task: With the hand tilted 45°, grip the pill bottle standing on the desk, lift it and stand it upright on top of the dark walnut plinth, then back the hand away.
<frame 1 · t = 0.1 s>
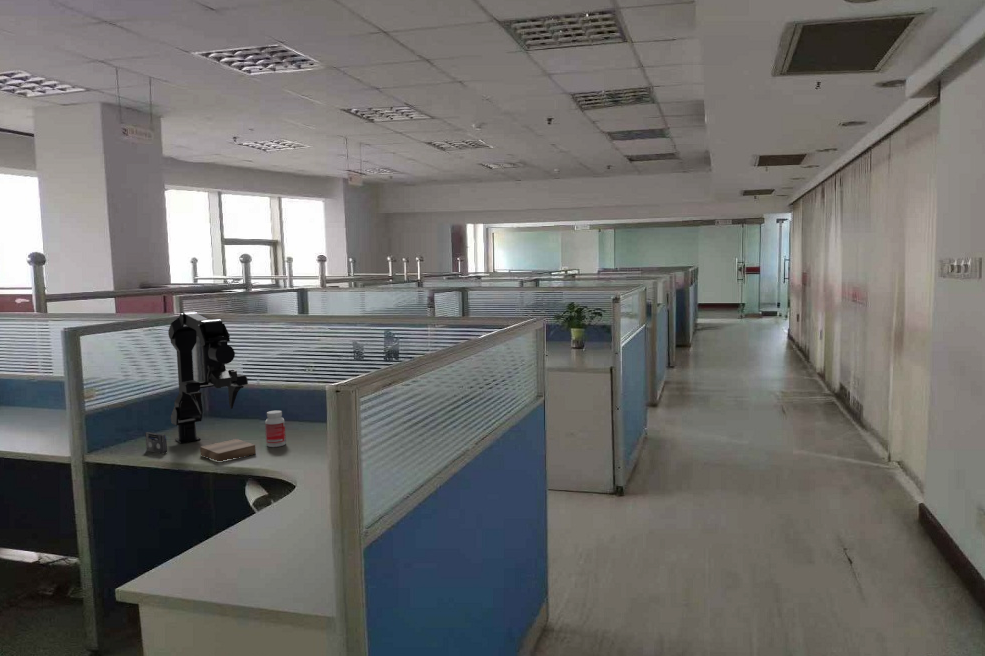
hand: (216, 411, 223), 15 cm above the table, tool pointing down, fingers open, 9 cm apart
walnut plinth: (228, 455, 227), on the table
mini dv tape: (156, 452, 233), on the table
pill bottle: (276, 445, 238), on the table
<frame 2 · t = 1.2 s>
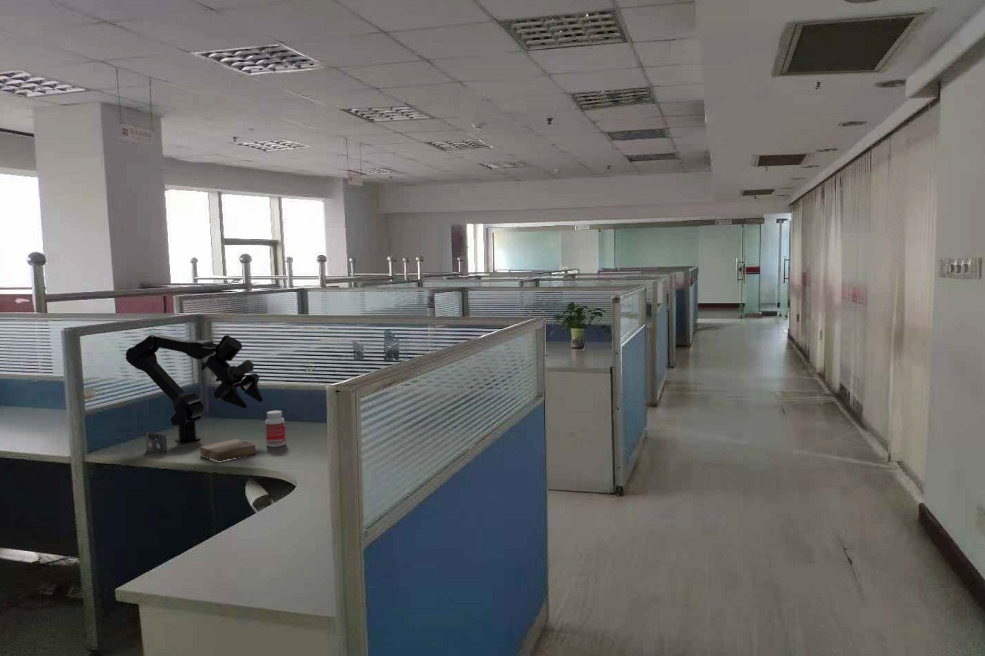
hand: (254, 404, 238), 13 cm above the table, tool tilted 45°, fingers open, 9 cm apart
nothing on the table moved.
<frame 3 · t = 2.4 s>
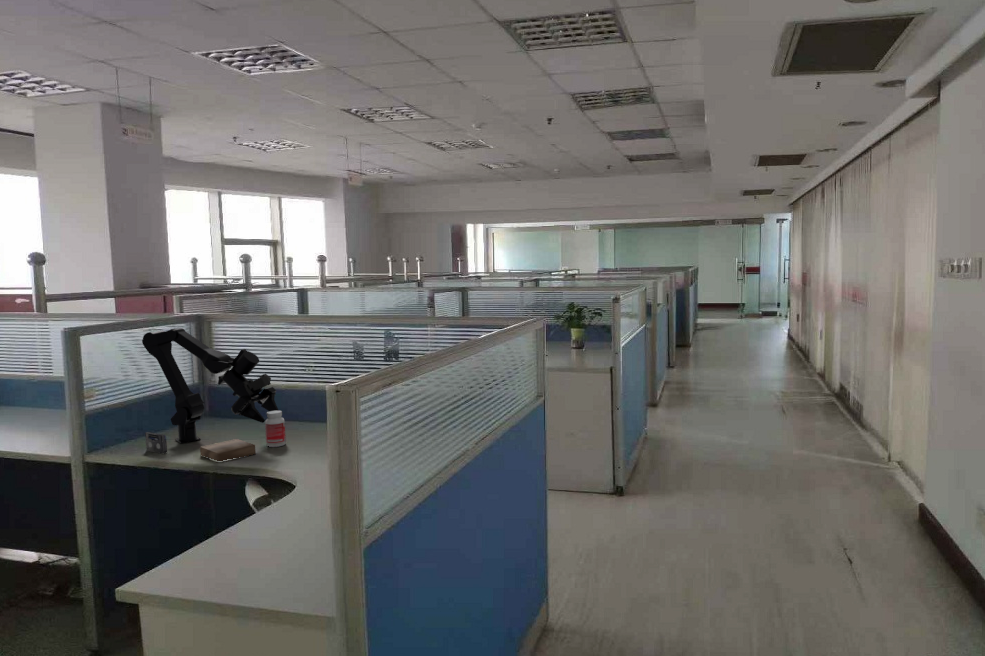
hand: (271, 418, 237), 9 cm above the table, tool tilted 45°, fingers open, 9 cm apart
nothing on the table moved.
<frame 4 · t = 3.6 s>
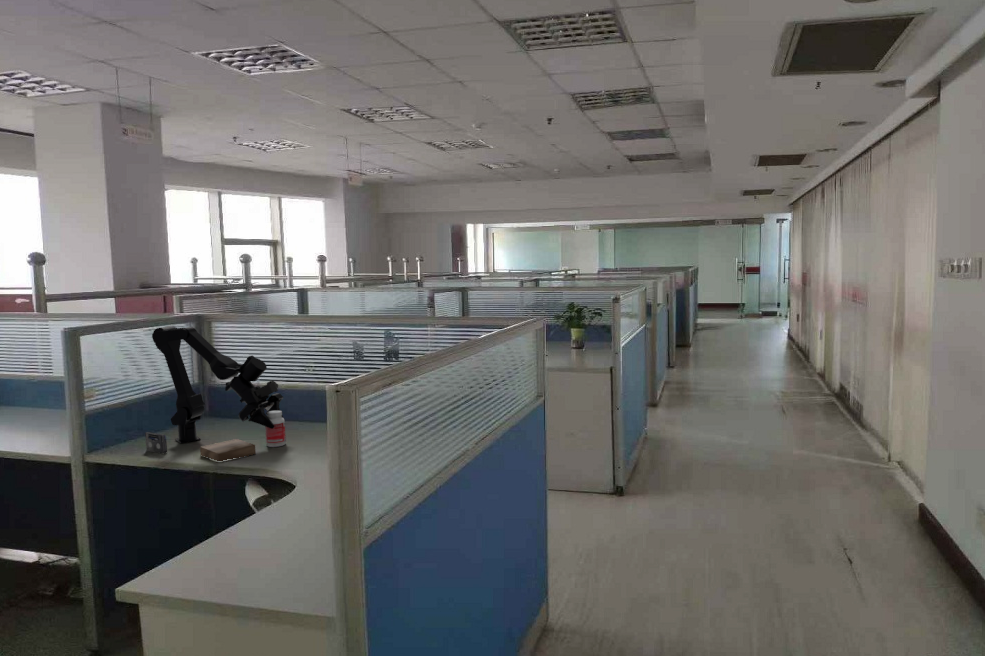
hand: (278, 425, 237), 7 cm above the table, tool tilted 45°, fingers closed on pill bottle, 6 cm apart
pill bottle: (276, 445, 238), on the table, touching gripper
everything else where it was.
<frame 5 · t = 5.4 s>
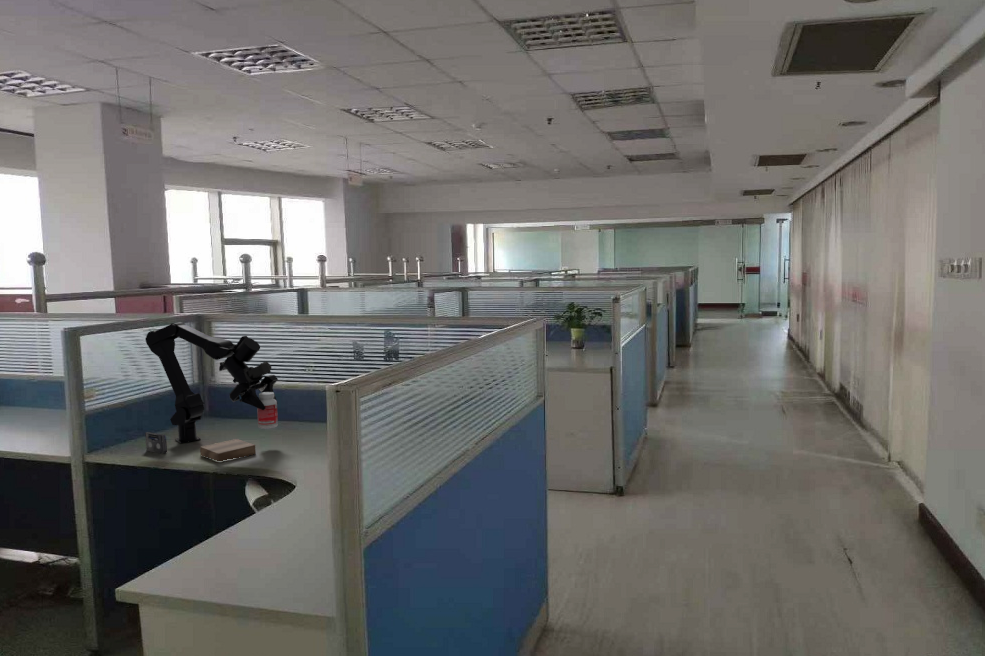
hand: (270, 406, 234), 13 cm above the table, tool tilted 45°, fingers closed on pill bottle, 6 cm apart
pill bottle: (268, 427, 235), point 6 cm above the table, touching gripper
everything else where it was.
when the fingers open (11 cm above the table, at t = 7.4 s): pill bottle drops 1 cm, resting on walnut plinth.
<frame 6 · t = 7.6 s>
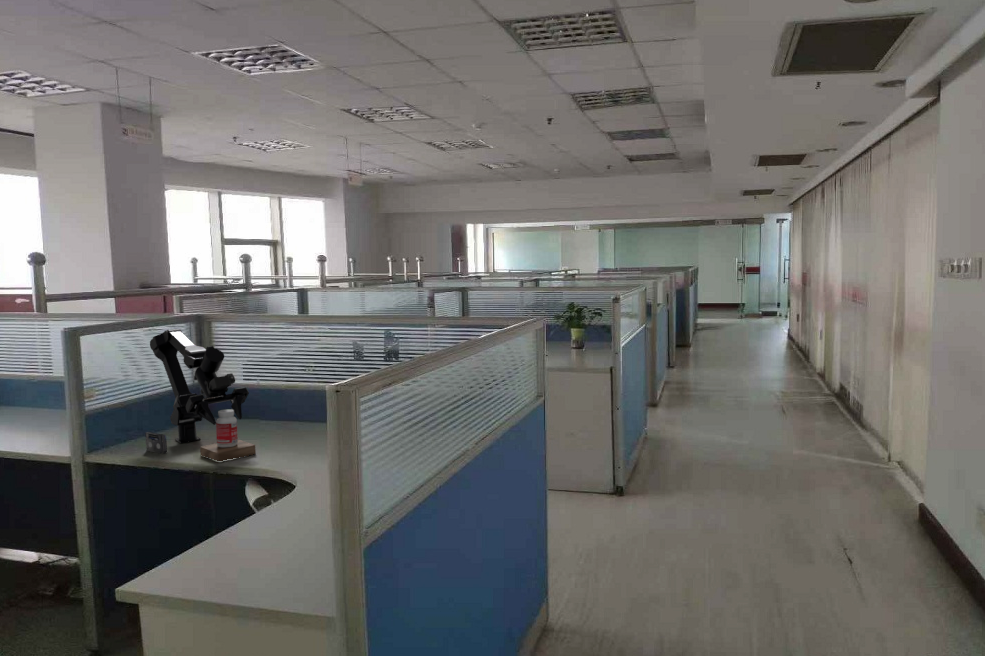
hand: (228, 421, 225), 11 cm above the table, tool tilted 45°, fingers open, 8 cm apart
pill bottle: (227, 446, 227), point 3 cm above the table, touching walnut plinth
everything else where it was.
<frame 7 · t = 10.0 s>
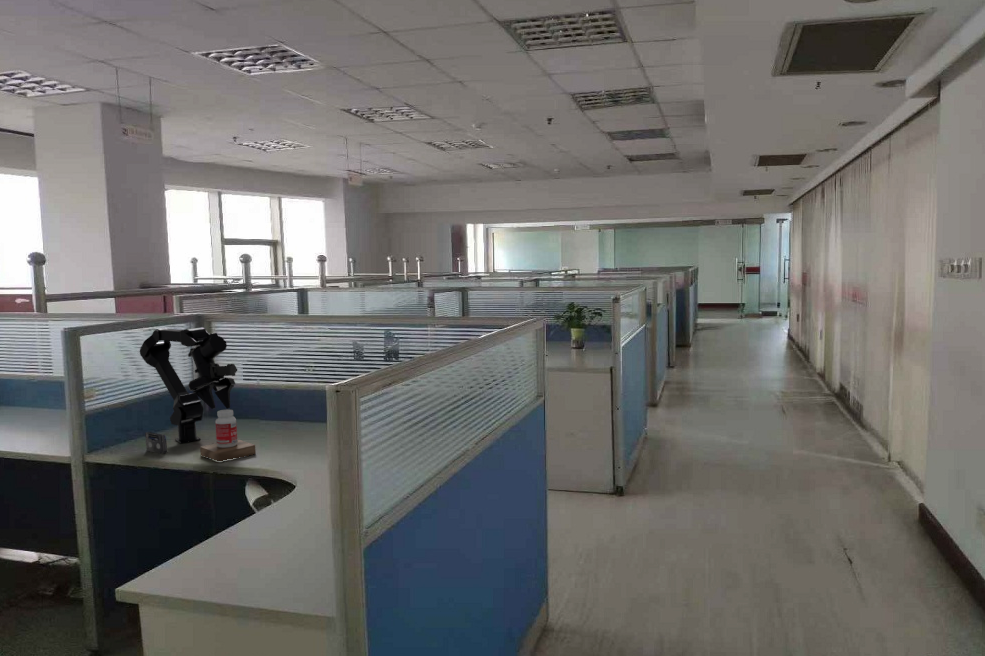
hand: (221, 408, 234), 13 cm above the table, tool tilted 25°, fingers open, 9 cm apart
nothing on the table moved.
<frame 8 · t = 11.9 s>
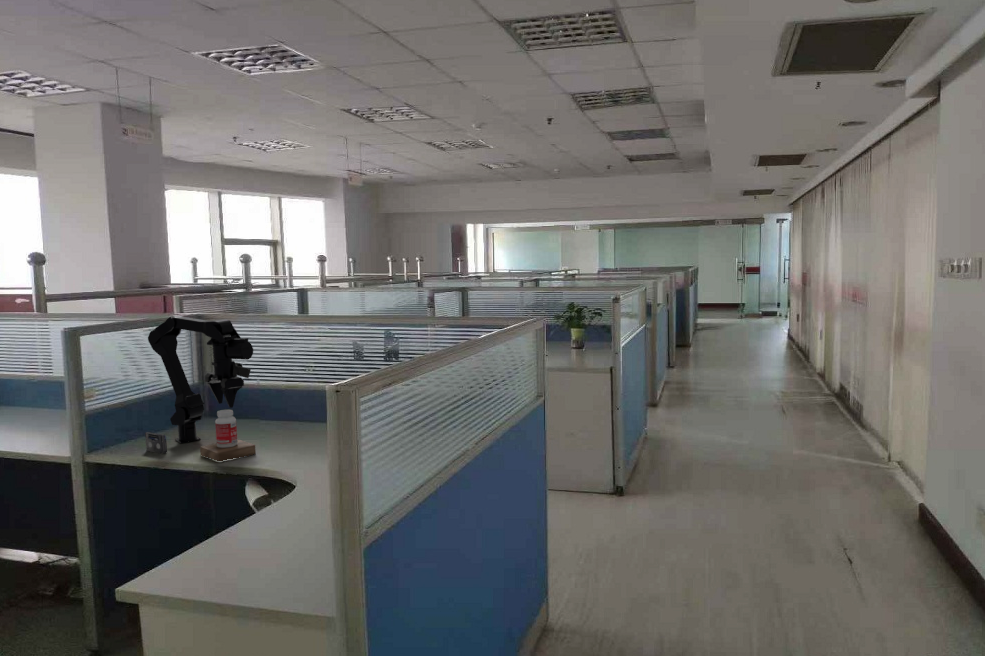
hand: (225, 405, 238), 13 cm above the table, tool pointing down, fingers open, 9 cm apart
nothing on the table moved.
at the end: pill bottle inside the target area on the walnut plinth (0.2 cm from its centre), point 2.8 cm above the walnut plinth's base; pill bottle tilted 0°; the gripper is holding nothing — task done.
